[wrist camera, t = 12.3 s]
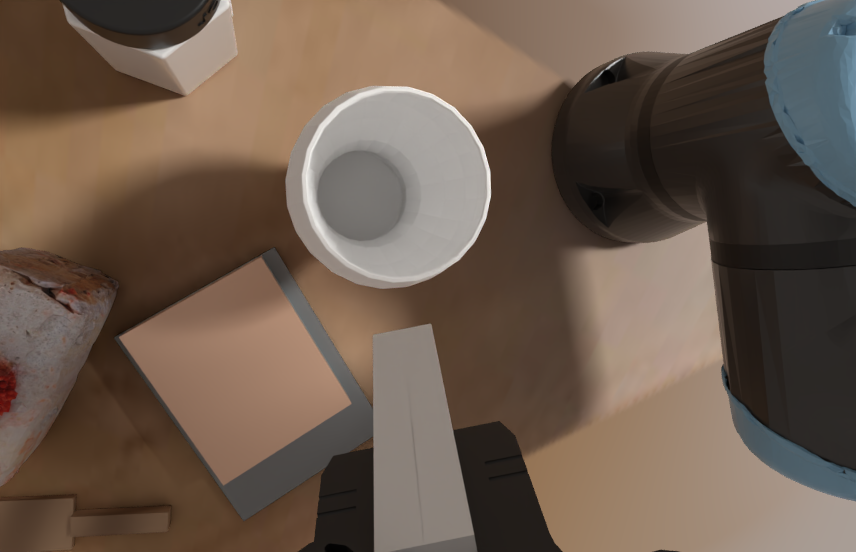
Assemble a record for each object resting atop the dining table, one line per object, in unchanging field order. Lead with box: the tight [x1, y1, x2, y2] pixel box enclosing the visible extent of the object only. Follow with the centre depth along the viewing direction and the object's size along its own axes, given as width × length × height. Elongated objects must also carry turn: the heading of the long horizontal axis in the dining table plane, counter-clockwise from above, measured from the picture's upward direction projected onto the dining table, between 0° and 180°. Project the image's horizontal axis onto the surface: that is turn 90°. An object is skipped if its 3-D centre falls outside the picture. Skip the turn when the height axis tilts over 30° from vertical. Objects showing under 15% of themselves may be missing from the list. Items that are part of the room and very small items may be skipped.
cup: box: [285, 86, 491, 289], centre depth 35 cm, size 11×11×15 cm
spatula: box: [0, 494, 171, 552], centre depth 39 cm, size 11×4×1 cm, turn 85°
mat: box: [114, 248, 373, 521], centre depth 41 cm, size 16×12×1 cm
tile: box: [119, 255, 352, 486], centre depth 39 cm, size 2×10×12 cm
